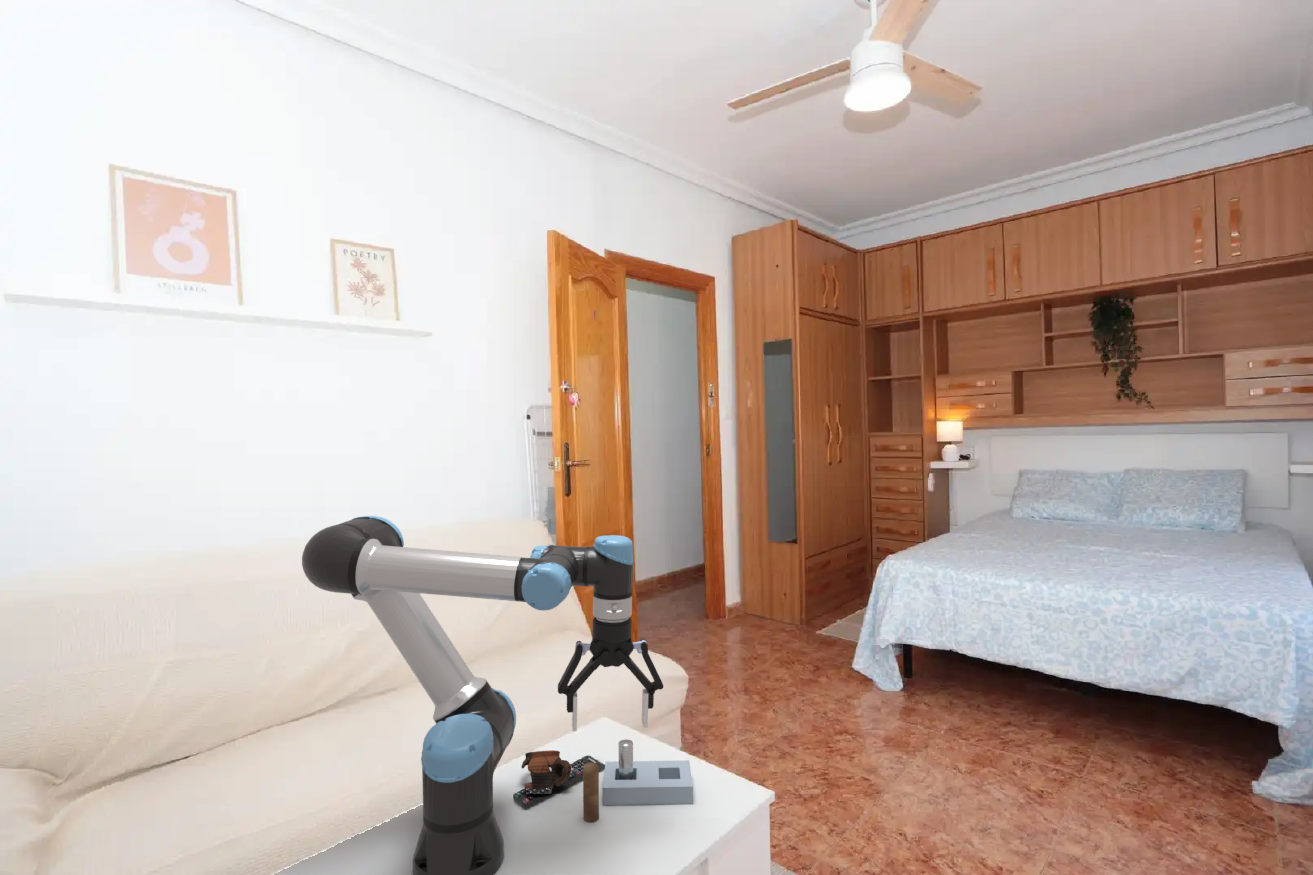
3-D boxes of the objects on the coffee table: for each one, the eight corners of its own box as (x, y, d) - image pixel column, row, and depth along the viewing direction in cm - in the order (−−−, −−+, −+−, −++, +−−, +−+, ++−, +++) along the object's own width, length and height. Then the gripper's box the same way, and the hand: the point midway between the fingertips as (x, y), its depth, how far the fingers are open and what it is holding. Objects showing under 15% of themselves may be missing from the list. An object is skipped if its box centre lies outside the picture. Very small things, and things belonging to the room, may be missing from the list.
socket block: (602, 805, 130) (602, 787, 130) (605, 777, 140) (605, 761, 140) (692, 803, 130) (692, 786, 130) (689, 776, 140) (689, 760, 140)
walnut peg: (582, 822, 124) (582, 770, 124) (584, 812, 127) (583, 762, 127) (598, 822, 124) (598, 770, 124) (599, 812, 127) (599, 762, 127)
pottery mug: (510, 797, 134) (512, 752, 138) (536, 796, 141) (537, 754, 145) (560, 793, 130) (561, 747, 134) (584, 792, 137) (584, 749, 141)
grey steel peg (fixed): (618, 794, 133) (618, 746, 133) (619, 786, 136) (618, 739, 136) (633, 794, 133) (632, 746, 133) (633, 786, 136) (633, 739, 136)
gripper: (546, 624, 119) (544, 739, 120) (679, 621, 123) (676, 731, 124) (546, 612, 127) (544, 720, 127) (672, 609, 131) (669, 714, 131)
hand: (609, 726), depth 126 cm, fingers open, 13 cm apart
